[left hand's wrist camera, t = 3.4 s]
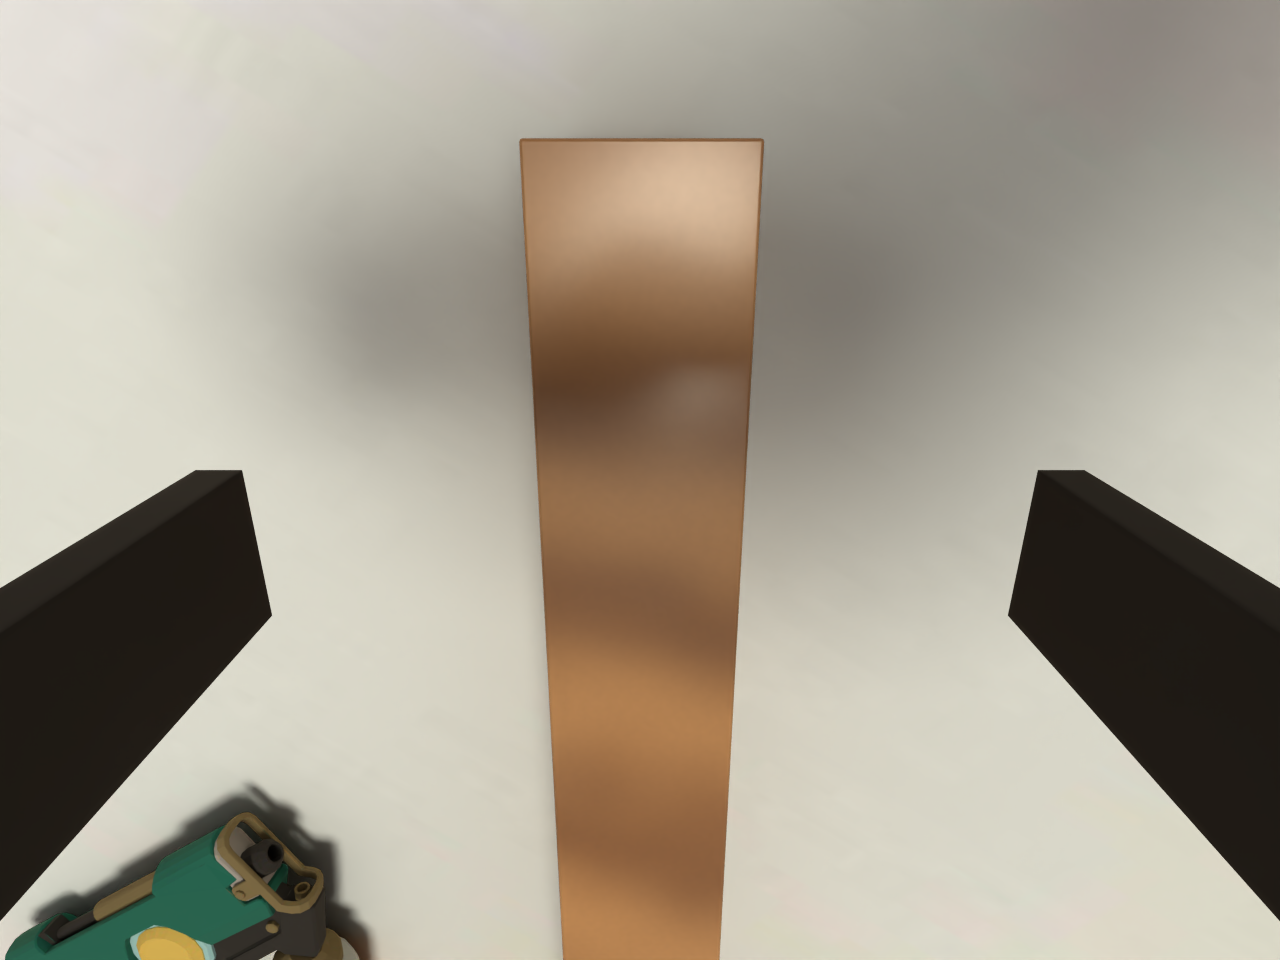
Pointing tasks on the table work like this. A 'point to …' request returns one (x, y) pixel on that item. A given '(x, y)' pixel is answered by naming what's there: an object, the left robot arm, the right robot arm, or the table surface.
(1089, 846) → the table surface
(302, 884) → the spray gun
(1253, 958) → the table surface
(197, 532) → the left robot arm
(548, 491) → the bar
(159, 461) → the table surface
